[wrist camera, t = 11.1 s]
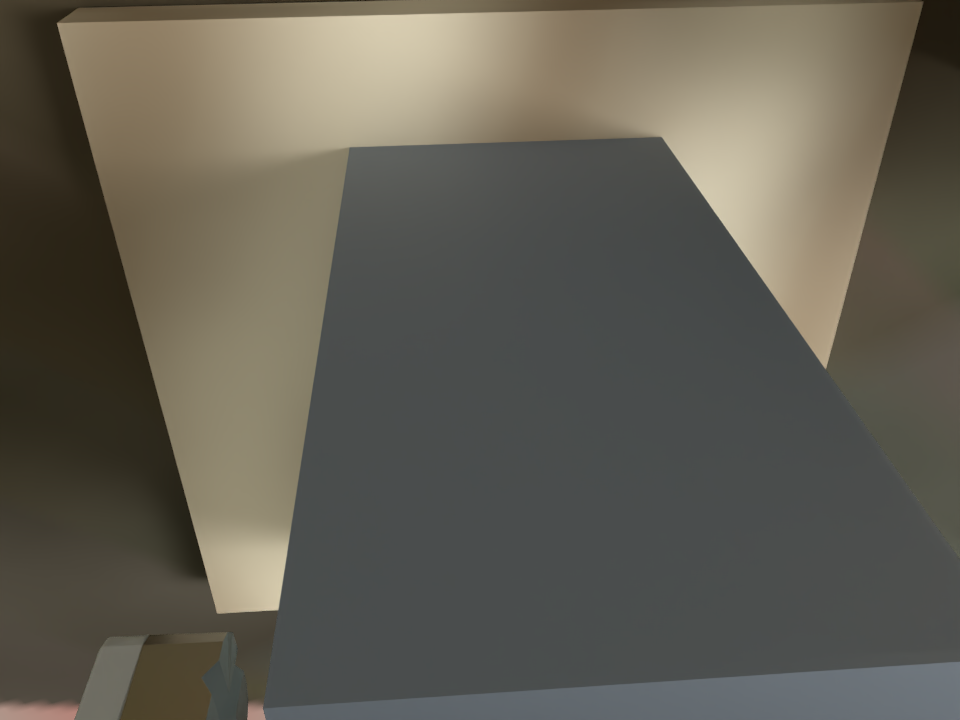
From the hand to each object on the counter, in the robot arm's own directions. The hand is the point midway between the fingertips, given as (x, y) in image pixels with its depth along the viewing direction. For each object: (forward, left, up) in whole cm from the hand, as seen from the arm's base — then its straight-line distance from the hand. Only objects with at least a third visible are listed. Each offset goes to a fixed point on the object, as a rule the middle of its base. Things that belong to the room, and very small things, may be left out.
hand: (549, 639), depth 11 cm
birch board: (0, 0, -7) cm, 7 cm away
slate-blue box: (0, 0, -6) cm, 6 cm away
